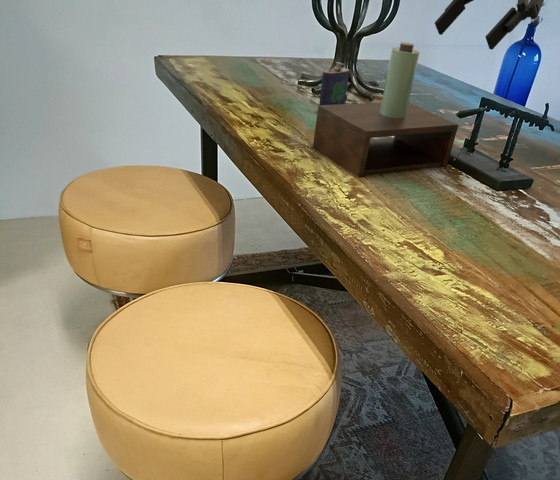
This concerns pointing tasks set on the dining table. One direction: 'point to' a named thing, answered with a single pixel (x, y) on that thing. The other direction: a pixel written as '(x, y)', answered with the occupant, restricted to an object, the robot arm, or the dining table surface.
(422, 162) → the shelf
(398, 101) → the canister
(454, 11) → the robot arm
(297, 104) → the dining table surface
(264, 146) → the dining table surface
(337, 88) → the flask
